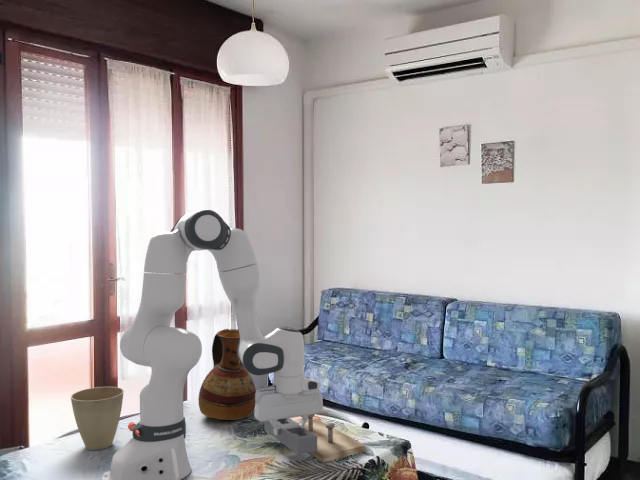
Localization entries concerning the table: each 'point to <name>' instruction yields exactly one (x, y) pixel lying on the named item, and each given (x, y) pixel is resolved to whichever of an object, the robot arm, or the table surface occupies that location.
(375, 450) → the table surface
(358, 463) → the table surface
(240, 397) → the ceramic pitcher
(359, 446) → the board
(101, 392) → the plant pot
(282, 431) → the block
